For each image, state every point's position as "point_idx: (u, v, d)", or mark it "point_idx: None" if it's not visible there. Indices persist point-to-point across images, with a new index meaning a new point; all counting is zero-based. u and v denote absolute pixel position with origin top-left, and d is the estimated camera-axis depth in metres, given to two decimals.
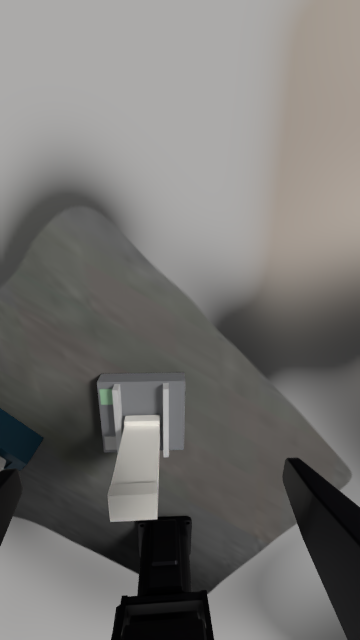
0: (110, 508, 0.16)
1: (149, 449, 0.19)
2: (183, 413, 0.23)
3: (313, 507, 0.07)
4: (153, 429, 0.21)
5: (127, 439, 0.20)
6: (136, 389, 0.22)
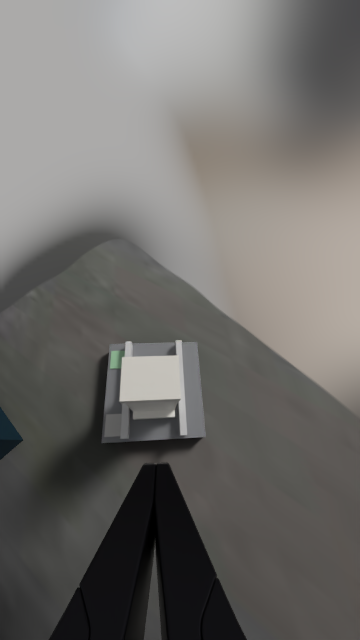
0: (122, 377, 0.13)
1: None
2: (199, 380, 0.21)
3: None
4: None
5: None
6: (148, 351, 0.21)
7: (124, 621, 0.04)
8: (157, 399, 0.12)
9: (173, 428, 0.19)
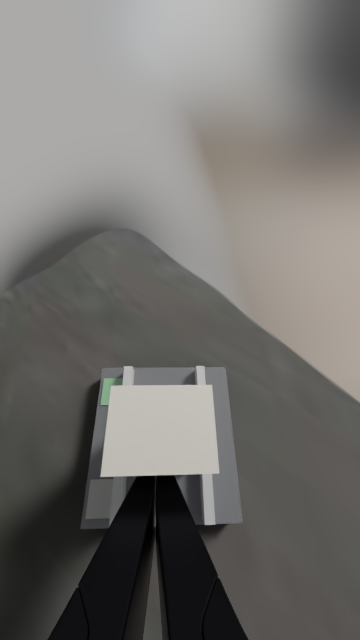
0: (110, 425, 0.07)
1: None
2: (230, 426, 0.14)
3: (155, 515, 0.06)
4: None
5: None
6: (156, 380, 0.15)
7: (123, 621, 0.04)
8: (174, 473, 0.06)
9: (192, 506, 0.12)
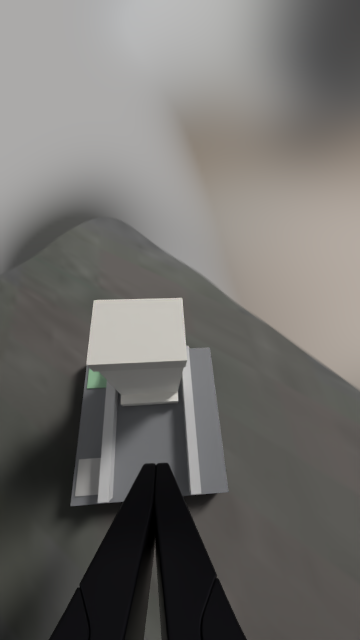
0: (93, 328, 0.08)
1: None
2: (215, 403, 0.14)
3: (154, 515, 0.06)
4: None
5: None
6: None
7: (124, 621, 0.04)
8: (149, 361, 0.08)
9: (179, 479, 0.12)
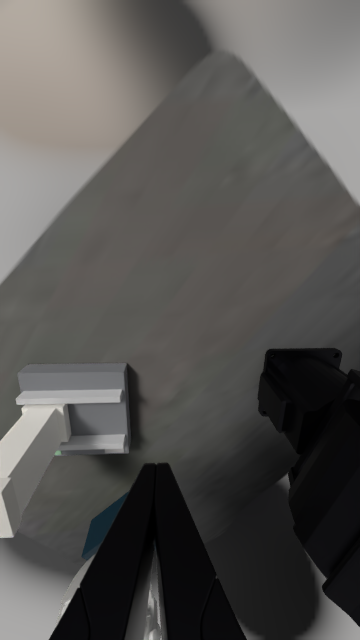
0: None
1: None
2: (65, 374, 0.18)
3: (154, 515, 0.06)
4: None
5: None
6: None
7: (124, 621, 0.04)
8: (6, 509, 0.12)
9: None
